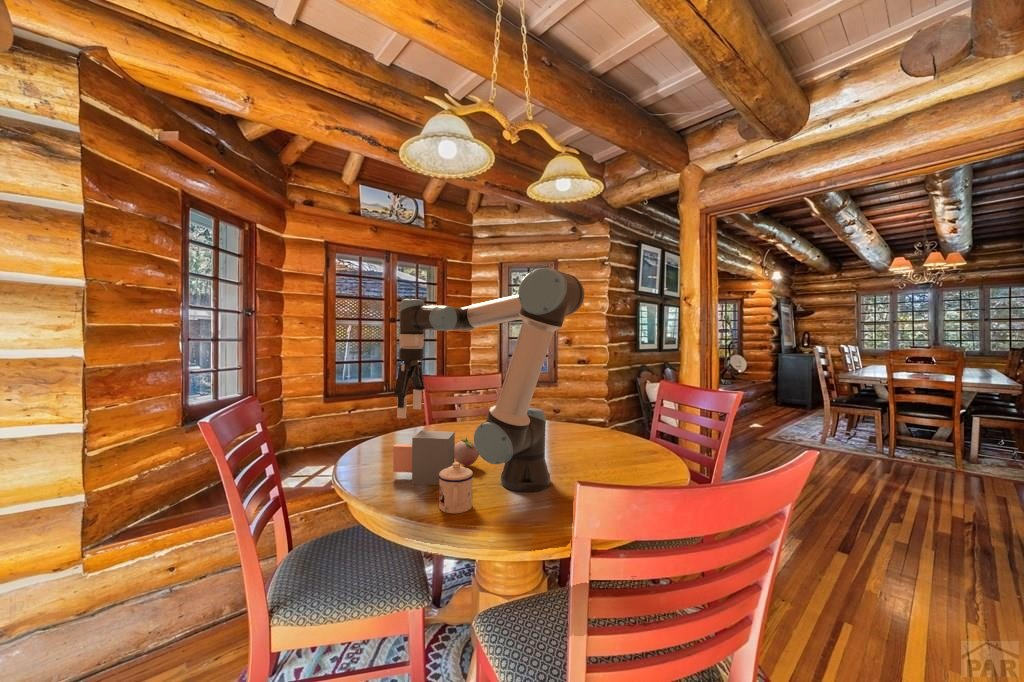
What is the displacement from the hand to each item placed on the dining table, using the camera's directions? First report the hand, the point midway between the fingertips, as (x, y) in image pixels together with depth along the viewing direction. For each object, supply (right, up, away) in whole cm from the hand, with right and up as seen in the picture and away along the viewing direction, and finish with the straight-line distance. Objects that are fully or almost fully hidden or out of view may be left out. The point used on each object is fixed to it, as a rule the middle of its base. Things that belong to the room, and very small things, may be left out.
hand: (409, 413), depth 134 cm
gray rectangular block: (+9, -20, -5) cm, 22 cm away
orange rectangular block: (+4, -17, -4) cm, 18 cm away
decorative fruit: (+17, -20, +7) cm, 27 cm away
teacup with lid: (+18, -21, -26) cm, 38 cm away
